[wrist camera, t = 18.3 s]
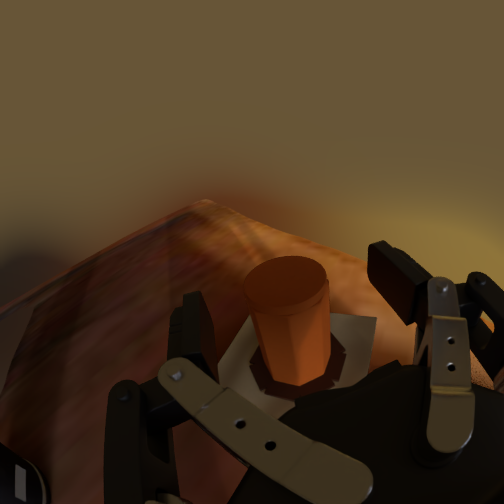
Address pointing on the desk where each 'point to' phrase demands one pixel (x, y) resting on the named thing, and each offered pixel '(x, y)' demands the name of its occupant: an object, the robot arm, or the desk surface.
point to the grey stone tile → (243, 382)
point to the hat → (292, 328)
